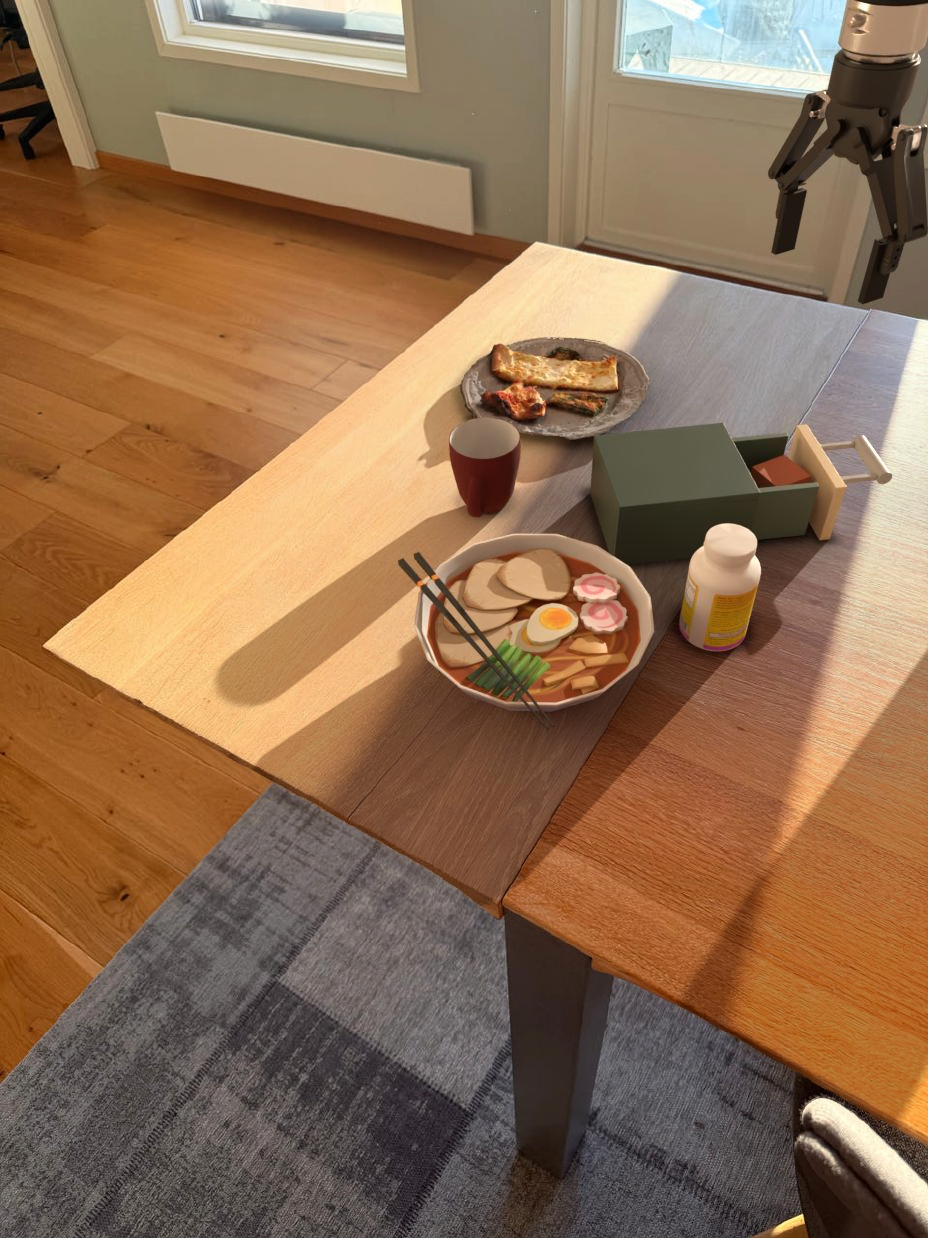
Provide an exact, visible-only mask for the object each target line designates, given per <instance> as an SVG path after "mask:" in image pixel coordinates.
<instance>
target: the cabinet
mask: <svg viewBox="0 0 928 1238" xmlns="http://www.w3.org/2000/svg"><path fill="white" fill-rule="evenodd" d="M732 438H733V437H732V436H731V434H730V433H729V431H728V429H727V427H726V425H725V423H724V422H717V423H715V422H713V423H706V424H705V423H704V424H696V425H695V424H694V425H686V426H676V427H674V426H673V427H665V428H656V429H647V430H646V429H645V430H635V431H626V432H617V433H615V432H614V433H606V434H605V433H603V434H600V435H595V436H593V447H592V461H591V463H592V464H591V473H590V474H591V475H590V488H589V489H590V490H589V494H590V497H591V501H592V504H593V506H594V510H595V513H596V517H597V519H598V522H599V525H600V528H601V532H602V534H603V538H604V541H605V544H606V547H607V551H608V553H609V554H611V555H613V556H614V557H616V558H617V559H619V560H620V561H622V562H623V563H625V564H626V565H634V564H635V565H636V564H643V563H654V562H655V563H656V562H663V561H672V560H673V561H674V560H682V559H691V558H692V556H693V554H694V553H695V552H696V551H697V550H698V549H699V548H701V547H702V546H704V541H705V537H706V534H707V532H708V531H709V530H710V529H711V528H712V527H714V526H716V525H720V524H736V525H740V526H743V527H745V528H747V529H749V530H750V531H751V529H752V525H753V521H754V517H755V513H756V509H757V505H758V501H759V497H760V491H759V489H758V487H757V485H756V483H755V482H754V480H753V478H752V476H751V474H750V472H749V470H748V468H747V466H746V465H745V463H744V461H743V459H742V457H741V455H740V453H739V451H738V450H737V448H736V446H735V444H734V442H733V440H732Z"/></svg>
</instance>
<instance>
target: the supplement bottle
mask: <svg viewBox="0 0 928 1238" xmlns="http://www.w3.org/2000/svg"><path fill="white" fill-rule="evenodd" d="M757 547H758V540H757V539H756V537H755V535H754V534H753V533H752V532H751V531H750V530H749V529H747V528H745V527H743V526H740V525H736V524H720V525H716V526H714V527H712V528H711V529H710V530H709V531H708V532H707V534H706V537H705V541H704V546H702V547H701V548H699V549H698V550H697V551H696V552H695V553H694V554H693V556H692V558H690V561H689V564H688V572H687V577H686V581H685V589H684V593H683V599H682V605H681V610H680V616H679V623H678V625H679V630H680V633H681V634H682V636H683V638H685V639H686V641H687V642H689V643H690V644H692V646H695V647H697V648H700V649H702V650H705V651H708V652H709V651H710V652H725V651H729V650H732V649H735V648H736V647H738V646H739V645H740V644H742V642H743V641H744V639H745V637H746V634H747V630H748V628H749V627H748V626H749V623H750V619H751V614H752V611H753V608H754V603H755V599H756V595H757V591H758V587H759V584H760V580H761V575H762V567H761V563H760V561H759V559H758V558H757V556H756V552H757Z"/></svg>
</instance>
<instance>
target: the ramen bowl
mask: <svg viewBox="0 0 928 1238" xmlns="http://www.w3.org/2000/svg"><path fill="white" fill-rule="evenodd" d="M413 559H414V560H415V562H416V563H417V564H418V565H419V566H420V568H421V570H423V571H424V573H425V574H426V575H427V576H428V577H429V578H428V579H427V580H426V582H424V581H423V580H422V578H421V576H419V575H418V574H417V572H416V571H415V569H413V568H412V566H411V565H409V563H408V562H407V560H405V558H404V557H402V558H400V559H398V560H397V565H398V566H399V567H400V569H401V570H402V571H403V572H404V573H405V574H406V575H407V576H408V577H409V578H410V580H411V581H412V582H413V583H414V584H415V585H416V586H417V587H418V588H419V589H420V590H419V592H418V594H417V599H416V610H415V614H414V623H413V628H414V630H415V633H416V636H417V638H418V640H419V643H420V646H421V648H422V650H423V653H424V655H425V658H426V660H427V661H428V662H429V663H430V664H431V665H432V666H433V667H434V668H435V669H436V670H437V671H438V672H440V673H441V674H442V675H443V676H444V677H445V678H447V679H448V680H449V681H450V682H451V683H452V684H454V685H455V686H456V687H457V688H459V690H460V691H462V692H463V693H464V694H466V695H468V696H470V697H472V698H475V699H477V700H479V701H483V702H485V703H488V704H491V705H493V706H496V707H499V708H501V709H504V710H507V711H511V712H531V713H532V714H533V716H534V717H536V719H537V720H538V721H539V722H540V723H541V724H542V725H543V726H544V728H545V729H546V730H550V727H549V726H548V725H547V724H546V723H545V721H543V720H542V718H541V717H540V716H539V715H538V714H537V712H540V713H541V714H542V716H543V717H544V718H545V719H546V720H547V721H548V723H549V724H550V725H551V726H552V728H554V727H555V724H554V723H553V722H552V720H551V719H550V717H548V715H547V714H546V713H545V712H551V713H552V712H555V711H559V710H562V709H565V708H569V707H573V706H577V705H579V704H583V703H586V702H589V701H592V700H595V699H597V698H599V697H600V696H601V695H603V694H604V693H605V692H607V691H608V690H609V689H610V688H612V687H613V686H615V684H616V683H618V682H619V681H620V680H622V679H623V678H624V677H626V676H627V675H628V674H629V673H631V671H633V670H634V669H635V668H636V667H637V666H639V664H640V662H641V659H642V657H643V655H644V653H645V652H646V650H647V648H648V645H649V643H650V641H651V639H652V637H653V635H654V633H655V624H654V615H653V607H652V598H651V595H650V594H649V592H648V590H647V589H646V588H645V586H644V585H643V583H642V582H641V580H640V578H638V576H637V574H636V573H635V572H634V570H633V568H632V567H631V566H629V564H627V565H626V564H625V563H623V562H622V561H620V560H619V559H617V558H616V557H614V556H613V555H611V554H610V553H609V551H606V550H605V549H603V548H602V547H600V546H598V545H596V544H593V543H591V542H587V541H583V540H579V539H576V538H574V537H573V538H572V537H569V536H565V535H562V534H559V533H511V534H506V535H503V536H502V535H501V536H498V537H495V538H490V539H486V540H482V541H479V542H474V543H471V544H470V545H469V546H467V547H466V548H464V549H462V550H461V551H459V552H457V553H456V554H454V555H453V556H451V557H449V558H448V559H446V560H444V561H443V562H441V563H440V564H439V565H438V566H437V568H436V569H435V570H434V569H433V568H432V567H431V565H430V564H429V562H428V561H427V560H426V558H424V556H423V555H422V554H421V553H420V551H416V552H414V553H413Z"/></svg>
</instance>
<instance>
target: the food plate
mask: <svg viewBox="0 0 928 1238" xmlns="http://www.w3.org/2000/svg"><path fill="white" fill-rule="evenodd" d="M645 370H646V369H645V367H644V365H642V364H641V362H640V361H639V360H638V359H637V358H636V357H635V356H633V355H632V354H630V353H629V352H628V351H624V350H623V349H621V348H617V347H615V346H613V345H610V344H608V342H606V343H605V342H604V341H601V340H596V339H589V338H578V337H559V336H558V337H552V336H550V337H549V336H548V337H547V336H544V337H536V338H535V337H534V338H527V339H523V340H517V341H516V342H513V343H510V344H507V345H505V344H503V343H497V344H496V343H495V344H493V346H492V349H491V350H490V352H489V353H488V354H485V355H484V356H482V357H479V358H478V359H477V360H476V361H475V363H473V364H472V365H471V366H470V368H469V369H468V370H467V371H466V372H465V373H464V375H463V378H462V379H461V382H460V385H459V389H460V394H461V396H462V400H463V402H464V407H465V409H467V412H469V413H470V414H471V418H473V417H474V416H475V418H484V417H489V418H497V419H501V420H504V421H507V422H509V423H511V424H512V425H514V426H515V427H516V428H517V430H518V431H519V433H522V434H526V435H530V436H531V437H533V436H544V437H553V436H554V437H558V436H559V437H560V438H561V437H562V438H563V437H564V438H565V439H567V440H570V441H572V440H580V439H587V438H591V437H594V436H595V435H603V434H605V433H606V434H607V432H608V431H610V430H612V429H613V428H614V429H615V426H617V424H620V423H622V422H623V421H626V420H627V419H629V418H630V417H631V416H633V415H634V413H635V412H636V411H637V410H638V409H639V408H640V407H641V406H642V404H643V402H644V400H645V398H646V394H647V392H648V388H649V384H650V382H651V381H650V377H649V375H648V373H647V372H646V371H645Z"/></svg>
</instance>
